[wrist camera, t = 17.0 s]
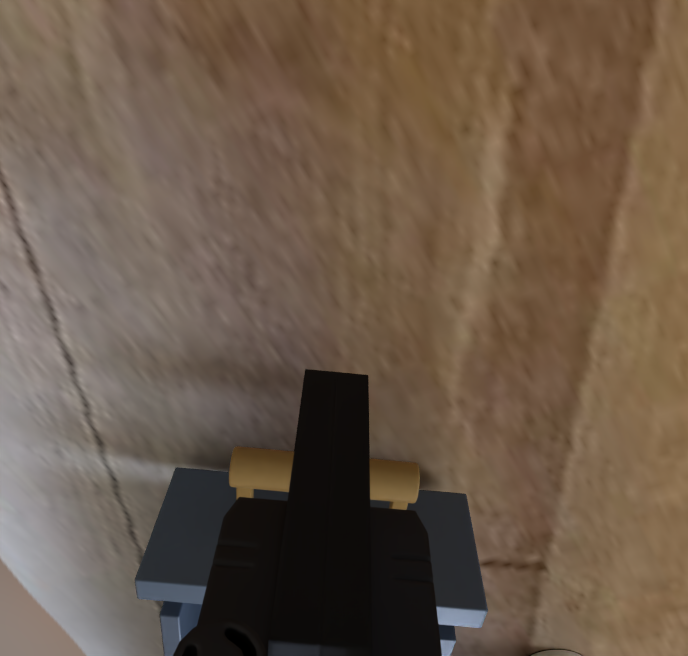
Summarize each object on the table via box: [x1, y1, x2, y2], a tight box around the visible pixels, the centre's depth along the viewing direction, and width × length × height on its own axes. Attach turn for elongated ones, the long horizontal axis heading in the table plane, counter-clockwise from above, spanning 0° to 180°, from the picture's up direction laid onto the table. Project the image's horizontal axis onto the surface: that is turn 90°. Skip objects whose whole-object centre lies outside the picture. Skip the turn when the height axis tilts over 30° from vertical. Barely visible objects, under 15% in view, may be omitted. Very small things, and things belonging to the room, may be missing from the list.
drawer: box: [135, 446, 488, 656], centre depth 28 cm, size 19×13×6 cm
